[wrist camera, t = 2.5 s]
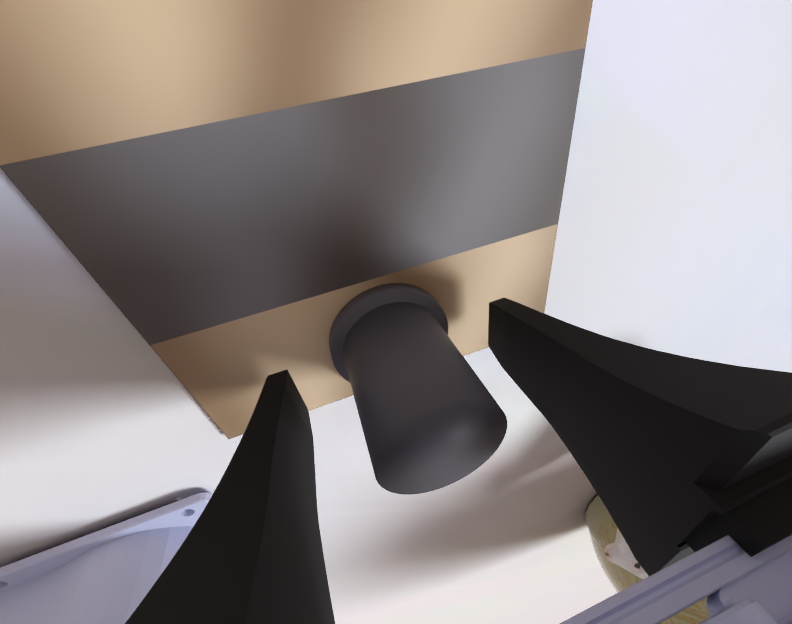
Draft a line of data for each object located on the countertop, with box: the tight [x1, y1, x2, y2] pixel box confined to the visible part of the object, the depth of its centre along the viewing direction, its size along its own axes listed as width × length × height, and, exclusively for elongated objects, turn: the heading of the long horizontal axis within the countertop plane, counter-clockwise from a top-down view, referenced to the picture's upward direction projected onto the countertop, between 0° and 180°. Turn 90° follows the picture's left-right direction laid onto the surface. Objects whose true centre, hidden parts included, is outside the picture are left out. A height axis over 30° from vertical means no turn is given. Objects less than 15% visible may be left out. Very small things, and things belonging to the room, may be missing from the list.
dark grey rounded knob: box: [329, 283, 507, 494], centre depth 10 cm, size 4×4×5 cm
